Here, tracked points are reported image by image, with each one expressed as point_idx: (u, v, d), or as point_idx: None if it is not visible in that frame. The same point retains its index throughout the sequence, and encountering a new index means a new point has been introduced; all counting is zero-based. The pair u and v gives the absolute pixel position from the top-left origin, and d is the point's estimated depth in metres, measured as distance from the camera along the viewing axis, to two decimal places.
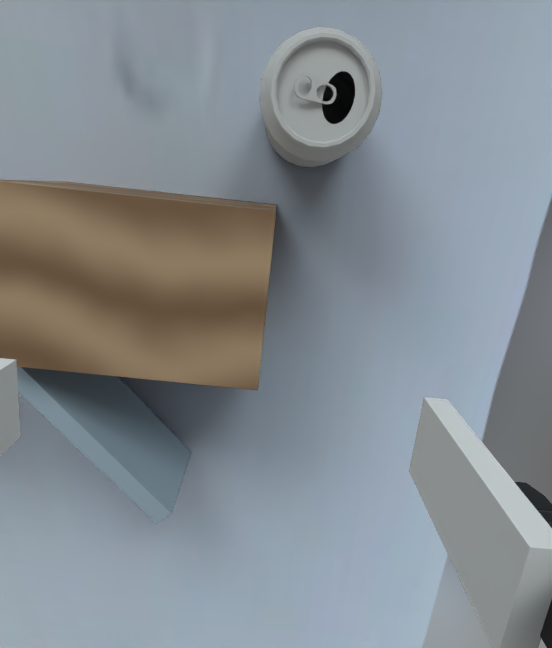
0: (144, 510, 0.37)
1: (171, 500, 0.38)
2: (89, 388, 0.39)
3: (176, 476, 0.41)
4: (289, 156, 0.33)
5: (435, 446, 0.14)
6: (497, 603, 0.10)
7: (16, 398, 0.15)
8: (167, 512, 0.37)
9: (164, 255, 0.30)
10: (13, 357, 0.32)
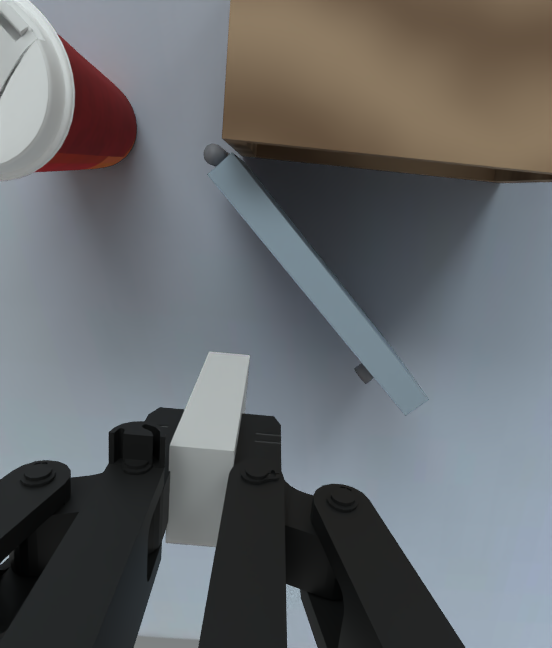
0: (391, 394, 0.26)
1: (418, 385, 0.27)
2: (297, 231, 0.28)
3: (402, 363, 0.30)
4: None
5: None
6: None
7: None
8: (423, 397, 0.26)
9: None
10: (254, 126, 0.20)
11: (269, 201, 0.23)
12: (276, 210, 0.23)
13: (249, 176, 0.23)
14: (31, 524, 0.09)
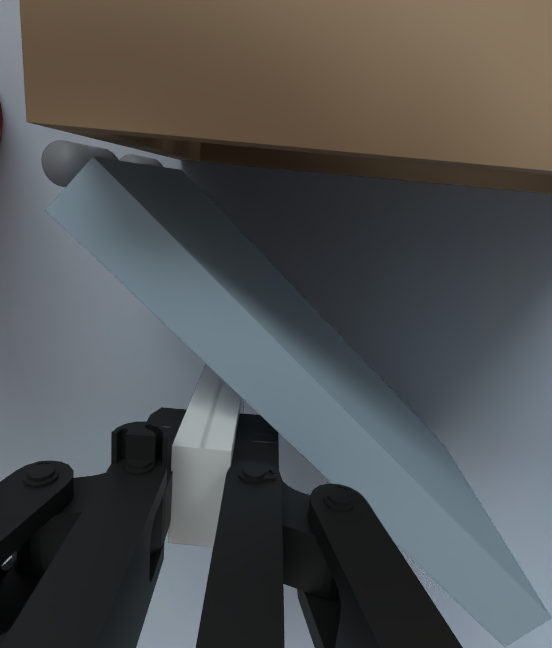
0: (475, 613, 0.13)
1: (521, 574, 0.14)
2: (272, 292, 0.15)
3: (477, 504, 0.17)
4: None
5: None
6: None
7: None
8: (540, 615, 0.13)
9: None
10: (109, 88, 0.08)
11: (191, 259, 0.10)
12: (209, 277, 0.10)
13: (140, 207, 0.10)
14: (34, 524, 0.09)
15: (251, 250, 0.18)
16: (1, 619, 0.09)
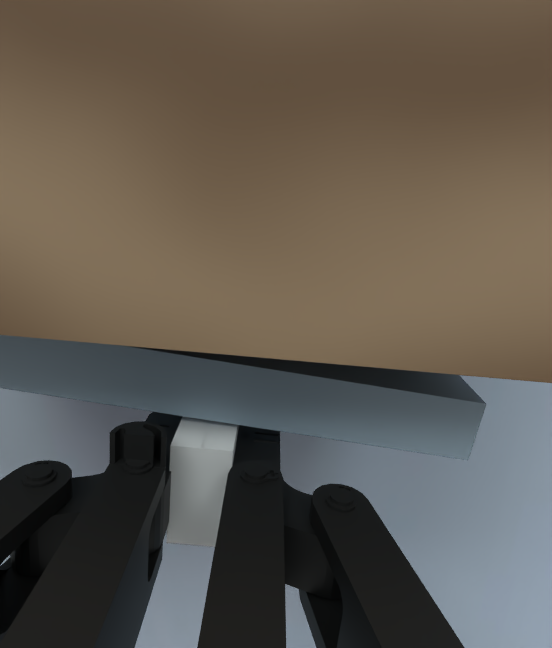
0: (409, 446, 0.12)
1: (452, 381, 0.13)
2: None
3: None
4: None
5: None
6: None
7: None
8: (472, 408, 0.12)
9: None
10: None
11: None
12: None
13: None
14: (32, 524, 0.09)
15: None
16: None
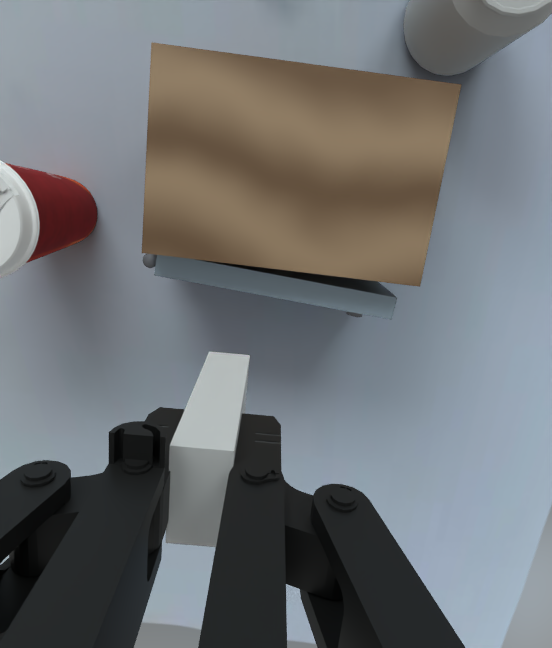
0: (370, 313, 0.33)
1: (387, 293, 0.34)
2: None
3: (374, 284, 0.37)
4: (452, 44, 0.31)
5: None
6: None
7: None
8: (392, 299, 0.33)
9: (337, 132, 0.28)
10: (164, 245, 0.30)
11: (199, 261, 0.32)
12: (207, 262, 0.32)
13: (177, 257, 0.32)
14: (31, 524, 0.09)
15: None
16: None
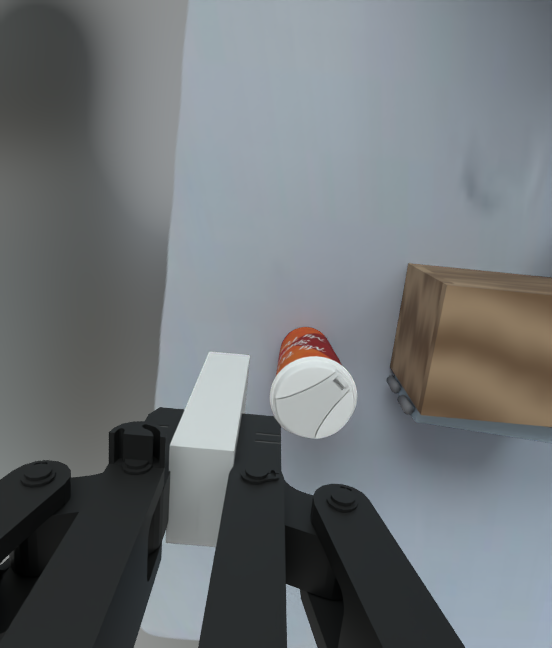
0: None
1: None
2: None
3: None
4: None
5: None
6: None
7: None
8: None
9: None
10: (437, 410, 0.42)
11: None
12: None
13: None
14: (31, 524, 0.09)
15: None
16: None
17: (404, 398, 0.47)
